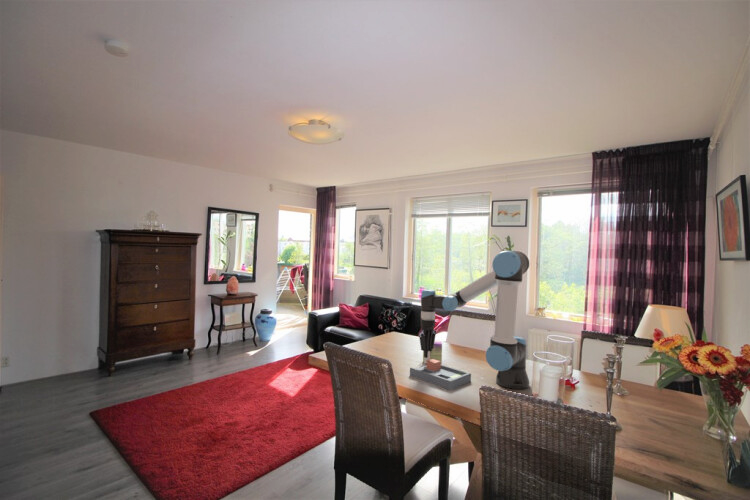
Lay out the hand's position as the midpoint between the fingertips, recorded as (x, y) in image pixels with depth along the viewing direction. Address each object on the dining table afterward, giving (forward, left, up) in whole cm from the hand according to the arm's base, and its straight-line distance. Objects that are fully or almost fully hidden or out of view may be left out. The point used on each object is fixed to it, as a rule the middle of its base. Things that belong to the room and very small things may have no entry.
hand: (427, 363), depth 189 cm
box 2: (-11, +3, -4) cm, 12 cm away
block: (-4, 0, -2) cm, 5 cm away
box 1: (+8, -14, -5) cm, 17 cm away
